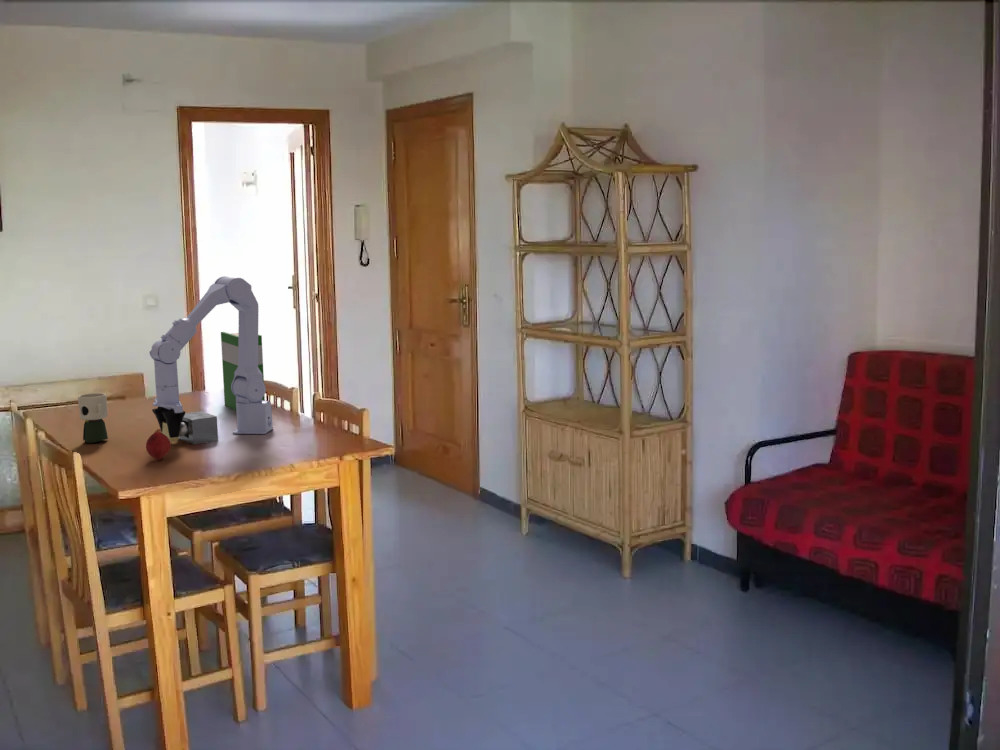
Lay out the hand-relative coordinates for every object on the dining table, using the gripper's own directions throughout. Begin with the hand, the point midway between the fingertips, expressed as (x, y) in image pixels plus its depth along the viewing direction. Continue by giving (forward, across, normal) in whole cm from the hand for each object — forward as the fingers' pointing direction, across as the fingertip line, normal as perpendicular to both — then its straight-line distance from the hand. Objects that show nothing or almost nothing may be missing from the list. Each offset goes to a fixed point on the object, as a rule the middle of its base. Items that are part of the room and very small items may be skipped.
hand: (170, 435), depth 263 cm
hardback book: (+3, -34, +38) cm, 51 cm away
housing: (+2, 0, +8) cm, 8 cm away
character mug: (+3, -17, -14) cm, 22 cm away
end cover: (+1, 0, +3) cm, 3 cm away
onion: (+3, +16, -9) cm, 18 cm away
